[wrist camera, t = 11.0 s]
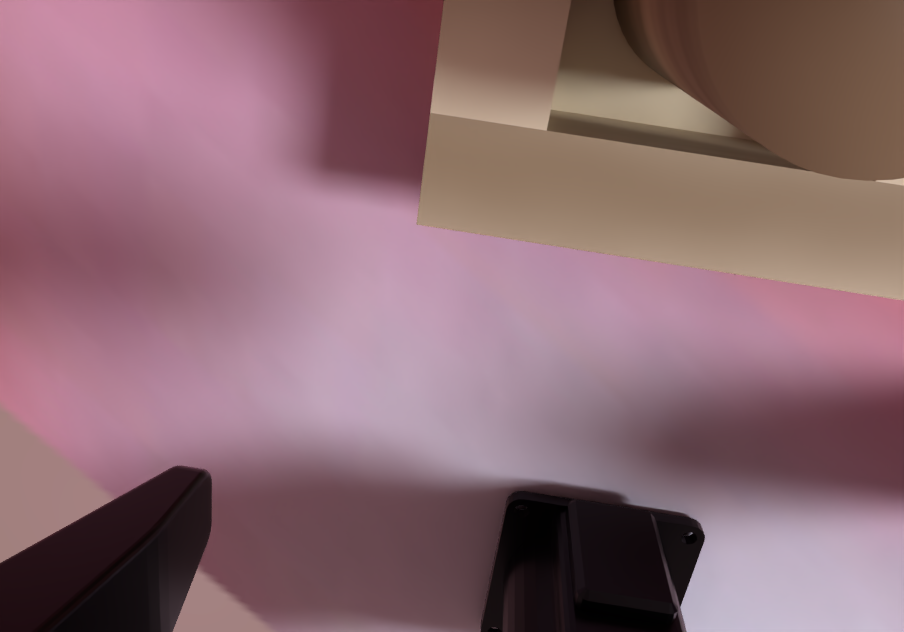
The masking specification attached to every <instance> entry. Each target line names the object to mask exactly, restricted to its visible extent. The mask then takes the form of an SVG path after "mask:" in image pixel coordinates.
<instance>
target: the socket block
mask: <svg viewBox="0 0 904 632" xmlns="http://www.w3.org/2000/svg"><path fill="white" fill-rule="evenodd" d="M417 225H423V226H430V227H436V228H443V229H449V230H455V231H462V232H468V233H475V234H481V235H488V236H494V237H500V238H507V239H513V240H520V241H526V242H532V243H539V244H545V245H552V246H558V247H564V248H571V249H577V250H584V251H590V252H596V253H603V254H609V255H616V256H622V257H629V258H635V259H641V260H648V261H654V262H661V263H667V264H673V265H680V266H686V267H693V268H699V269H705V270H712V271H718V272H725V273H731V274H737V275H744V276H750V277H757V278H763V279H770V280H776V281H782V282H789V283H795V284H802V285H808V286H814V287H821V288H827V289H834V290H840V291H846V292H853V293H859V294H866V295H872V296H878V297H885V298H891V299H898V300H904V178H901V179H894V180H873V181H863V180H852V179H841V178H837V177H832V176H828V175H823V174H819V173H815V172H813V171H810V170H807V169H805V168H802V167H799V166H797V165H794V164H792V163H791V162H789V161H787V160H785V159H783V158H782V157H780V156H778V155H776V154H774V153H773V152H771V151H770V150H768V149H767V148H765V147H764V146H762V145H761V144H760V143H758V142H757V141H755V140H754V139H752V138H751V137H749V136H748V135H746V134H745V133H744V132H742V131H741V130H739V129H738V128H736V127H735V126H733V125H732V124H730V123H729V122H727V121H726V120H725V119H723V118H722V117H720V116H719V115H717V114H716V113H714V112H713V111H711V110H710V109H709V108H707V107H706V106H704V105H703V104H701V103H700V102H698V101H697V100H695V99H694V98H692V97H691V96H690V95H688V94H687V93H685V92H684V91H682V90H681V89H679V88H678V87H676V86H675V85H673V84H672V83H671V82H669V81H668V80H666V79H665V78H663V77H662V76H660V75H659V74H657V73H656V72H655V71H653V70H652V69H651V68H650V67H648V66H647V65H646V64H645V63H644V62H643V61H642V60H641V59H640V58H639V57H638V56H637V55H636V54H635V52H634V51H633V50H632V48H631V47H630V45H629V44H628V42H627V40H626V38H625V37H624V35H623V33H622V31H621V28H620V25H619V22H618V20H617V16H616V12H615V7H614V1H613V0H444V3H443V12H442V20H441V28H440V36H439V44H438V53H437V61H436V69H435V77H434V85H433V94H432V102H431V110H430V118H429V126H428V135H427V143H426V151H425V159H424V167H423V176H422V184H421V192H420V200H419V208H418V217H417Z"/></svg>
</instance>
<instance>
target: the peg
mask: <svg viewBox="0 0 904 632" xmlns="http://www.w3.org/2000/svg"><path fill="white" fill-rule="evenodd" d="M613 1H614V7H615V12H616V16H617V20H618V22H619V25H620V28H621V31H622V33H623V35H624V37H625V38H626V40H627V42H628V44H629V45H630V47H631V48H632V50H633V51H634V52H635V54H636V55H637V56H638V57H639V58H640V59H641V60H642V61H643V62H644V63H645V64H646V65H647V66H648V67H650V68H651V69H652V70H653V71H655V72H656V73H657V74H659V75H660V76H662V77H663V78H665V79H666V80H668V81H669V82H671V83H672V84H673V85H675V86H676V87H678V88H679V89H681V90H682V91H684V92H685V93H687V94H688V95H690V96H691V97H692V98H694V99H695V100H697V101H698V102H700V103H701V104H703V105H704V106H706V107H707V108H709V109H710V110H711V111H713V112H714V113H716V114H717V115H719V116H720V117H722V118H723V119H725V120H726V121H727V122H729V123H730V124H732V125H733V126H735V127H736V128H738V129H739V130H741V131H742V132H744V133H745V134H746V135H748V136H749V137H751V138H752V139H754V140H755V141H757V142H758V143H760V144H761V145H762V146H764V147H765V148H767V149H768V150H770V151H771V152H773V153H774V154H776V155H778V156H780V157H782V158H783V159H785V160H787V161H789V162H791V163H792V164H794V165H797V166H799V167H802V168H805V169H807V170H810V171H813V172H815V173H819V174H823V175H828V176H832V177H837V178H841V179H852V180H863V181H873V180H894V179H901V178H904V0H613Z"/></svg>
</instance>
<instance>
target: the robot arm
mask: <svg viewBox="0 0 904 632" xmlns="http://www.w3.org/2000/svg"><path fill="white" fill-rule="evenodd" d="M519 505H524V506H526V507H527V508H526V509H524V510H519V509H517V508H516V507H517V506H519ZM211 521H212V479H211V475H210V473H209V472H208V471H207V470H205V469H199V468H193V467H187V466H175V467H172V468H170V469H168V470H166V471H165V472H163V473H161V474H159V475H157V476H156V477H154V478H152V479H150V480H149V481H147V482H145V483H143V484H141V485H140V486H138V487H136V488H134V489H132V490H131V491H129V492H127V493H125V494H123V495H122V496H120V497H118V498H116V499H114V500H113V501H111V502H109V503H107V504H105V505H104V506H102V507H100V508H98V509H96V510H95V511H93V512H91V513H90V514H88V515H86V516H84V517H82V518H80V519H79V520H77V521H75V522H73V523H71V524H70V525H68V526H66V527H64V528H62V529H61V530H59V531H57V532H55V533H53V534H52V535H50V536H48V537H46V538H45V539H43V540H41V541H39V542H37V543H35V544H34V545H32V546H30V547H28V548H27V549H25V550H23V551H21V552H19V553H18V554H16V555H14V556H12V557H11V558H9V559H7V560H5V561H3V562H2V563H0V632H172V631H173V629H174V626H175V624H176V621H177V619H178V616H179V614H180V611H181V609H182V606H183V603H184V601H185V598H186V596H187V593H188V591H189V588H190V586H191V583H192V581H193V578H194V575H195V573H196V570H197V568H198V565H199V563H200V560H201V558H202V555H203V553H204V550H205V547H206V545H207V542H208V539H209V535H210V531H211ZM687 532H692V533H693V534H691V535H689V536H683V534H685V533H687ZM704 539H705V535H704V532H703V529H702V527H701V524H700V523H699V522H698V521H697V520H694V519H691V518H686V517H680V516H674V515H668V514H661V513H655V512H649V511H645V510H639V509H633V508H626V507H620V506H614V505H608V504H601V503H595V502H589V501H583V500H574V499H568V498H562V497H555V496H549V495H543V494H537V493H530V492H524V491H518V492H515V493H512V494H511V495H510V496H509V497H508V499H507V501H506V506H505V511H504V515H503V520H502V525H501V530H500V534H499V539H498V544H497V549H496V553H495V558H494V563H493V567H492V572H491V577H490V582H489V586H488V591H487V596H486V601H485V605H484V610H483V615H482V620H481V632H686V628H685V624H684V620H683V616H682V613H681V609H680V606H681V604H682V601H683V598H684V595H685V593H686V590H687V587H688V584H689V582H690V579H691V576H692V573H693V571H694V568H695V565H696V562H697V559H698V557H699V554H700V551H701V548H702V546H703V543H704ZM492 627H496V628H498V629H493V628H492Z"/></svg>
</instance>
